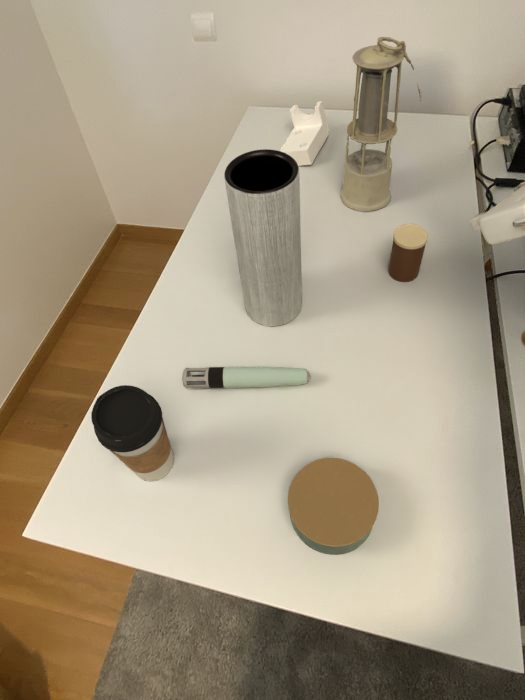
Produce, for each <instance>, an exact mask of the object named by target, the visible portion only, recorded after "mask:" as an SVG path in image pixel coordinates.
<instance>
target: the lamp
mask: <svg viewBox="0 0 525 700" xmlns="http://www.w3.org/2000/svg"><path fill="white" fill-rule="evenodd" d="M384 42H388V43H393V44H395V45H396V46H392V45H388V44H387V43H384ZM406 49H407V45H406V41H404V40H401V41H400V40H397V39H396V38H395V39H394V38H392V37H390V36H379V37H377V41H376V44H374V45H368V46H365V47H362V48H360V49H358V50H356V51H355V52H354V53H353V55H352V61H353V63H354V64H355V66H356V73H355V74H356V75H355V87H354V88H355V90H354V96H353V113H352V120H351V122H349V123H348V125H347V126H346V134H347V137H346V145H345V156H344V171H343V185H342V188H341V190H340V200H341V202H342V203H343V205H345V206H346V207H348V208H349V209H351V210H355V211H359V212H363V213H367V212H374V211H378V210H381V209H384V208H385V207H386V206H387V205H388V204H389V203H390V202H391V200H392V192H391V190H390V186H391V179H392V177H391V176H392V168H393V160H392V158H391V154H392V153H391V152H392V149H391V148H392V147H391V145H392V140H393V138H394V137H395V136H396V135H397V133H398V126H397V125H398V124H397V120H398V114H399V102H400V101H399V97H400V87H401V80H402V79H401V77H402V76H401V75H402V64H403V61H404V59H405V60H406V62H407V63H408V64H409V65H410V66H411V69H412V70H413V71H415V67H414V65H413V64H412V60H411V59H410V58H409V56H408V53H407V50H406ZM394 68H396V69H397V75H396V76H397V77H396V91H395V102H394V103H395V104H394V105H395V106H394V120H392V119H389V118H388V114H389V101H390V92H391V90H390V89H391V79H392V73H393V69H394ZM416 83H417V90H418V94H419V102H421V101H422V91H421V88H420V86H419V83H418V82H416ZM350 139H351V140H353V141H355V142H356V143H358V144H360V148H359V150H356V151H353V152H352V153H350V154H349V145H350ZM376 144H385V148H384V151H381V150H379V149H374V148H373V149H372V148H368V149H367V148H366V147H367V145H376Z"/></svg>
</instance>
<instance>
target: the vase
mask: <svg viewBox="0 0 525 700" xmlns="http://www.w3.org/2000/svg"><path fill="white" fill-rule="evenodd" d="M223 176H224V184H225V190H226V196H227V204H228V209H229V215H230V221H231V228H232V234H233V241H234V246H235V254H236V258H237V265H238V270H239V271H238V272H239V276H240V282H241V290H242V294H243V295H242V297H243V303H244V306H245V311H246V313H247V315H248V317H249V318H250V319H251V320H252V321H253V322H255V323H257V324H259V325H261V326H266V327H276V326H277V327H279V326H283V325H287V324H288V323H290V322H292V321H293V320H294V319H295V318H296V317H298V315H299V314H300V312H301V310H302V307H303V306H302V305H303V282H302V281H303V277H302V235H301V233H302V231H301V227H302V226H301V189H300V188H301V187H300V186H301V184H300V166H298V164H297V162H296V161H295V159H294V158H292V157H291V156H290V155H288V154H286V153H284V152H281V151H280V150H276V149H267V148H264V149H263V148H262V149H256V150H255V149H254V150H250V151H247V152H244V153H242V154H239V155H238V156H236V157H235V158H233V159H232V160H231V161H230V162H229V163H228V164H227V166H226V167H225V170H224V174H223Z"/></svg>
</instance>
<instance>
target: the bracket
mask: <svg viewBox="0 0 525 700" xmlns="http://www.w3.org/2000/svg"><path fill="white" fill-rule="evenodd" d="M323 103H324V102H323V101H322V100H321V101H317V102H316V104H315V106H314V112H313V113H310V114H308V113H305V112H303V111H302V110H301V109H300V108H299V106H298V104H293V105H292V106H291V108H290V109H289V115H290V119H291V121H292V125H293V129H292V131H291V132H290V133H289V135H288V137H287V138H286V140H285V141H284V143H283V145H282V146H281V148H280V149H279V151H281V152H284V153H286V154H288V155H290V156H291V157H292V158H294V159H295V161H296V162H297V164H298V166H299V167H300V166H311V165H313V162H314V161H315V159H316V158H317V156H318V154H319V152H320V151H321V149H322V148H323V146H324V144H325V142H326V140H327V139H328V137H329V135H330V129H329V124H328V120H327V116H326V112H325V108H324V104H323Z"/></svg>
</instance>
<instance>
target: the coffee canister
mask: <svg viewBox="0 0 525 700" xmlns="http://www.w3.org/2000/svg"><path fill="white" fill-rule="evenodd" d="M428 239H429V234H428V231H427V230H426V229H425V228H424V227H423V226H421V225H418V224H414V223H405V224H402V225H399V226H397V227H396V228H395V229H394V231H393V236H392V244H391V251H390V256H389V262H388V267H387V272H388V275H389V276H390V277H391V278H392V279H393V280H395V281H397V282H400V283H409V282H412V281H414V280H415V279H417V278H418V276H419V274H420V271H421V266H422V261H423V257H424V253H425V249H426V245H427V243H428Z"/></svg>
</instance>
